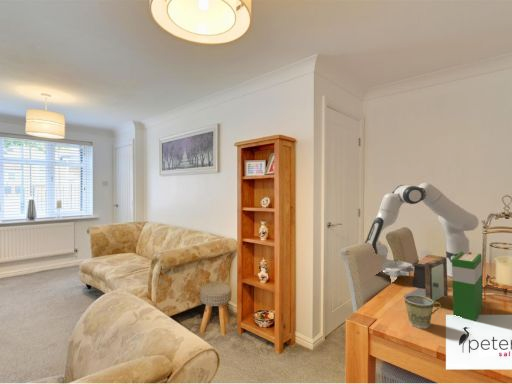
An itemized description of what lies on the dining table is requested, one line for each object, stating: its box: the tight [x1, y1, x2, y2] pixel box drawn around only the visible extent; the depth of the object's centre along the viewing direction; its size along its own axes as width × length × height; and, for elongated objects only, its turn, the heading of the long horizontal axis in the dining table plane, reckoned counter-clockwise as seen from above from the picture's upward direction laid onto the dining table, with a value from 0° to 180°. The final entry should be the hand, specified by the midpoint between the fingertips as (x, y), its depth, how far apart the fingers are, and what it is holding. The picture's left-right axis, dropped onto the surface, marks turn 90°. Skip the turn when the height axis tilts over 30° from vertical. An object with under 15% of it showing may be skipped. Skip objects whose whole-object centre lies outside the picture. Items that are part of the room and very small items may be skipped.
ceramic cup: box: [404, 295, 442, 330], centre depth 108 cm, size 13×10×10 cm
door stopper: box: [412, 262, 425, 290], centre depth 150 cm, size 9×6×12 cm, turn 128°
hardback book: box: [451, 252, 484, 322], centre depth 118 cm, size 18×7×24 cm, turn 133°
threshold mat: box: [403, 288, 426, 298], centre depth 136 cm, size 16×11×1 cm
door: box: [432, 263, 445, 302], centre depth 131 cm, size 14×3×16 cm, turn 125°
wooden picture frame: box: [424, 256, 448, 300], centre depth 131 cm, size 19×2×19 cm, turn 125°
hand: (413, 272), depth 153 cm, fingers open, 8 cm apart
